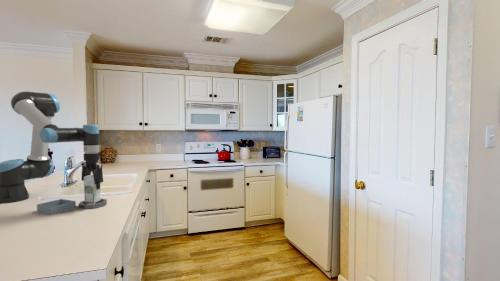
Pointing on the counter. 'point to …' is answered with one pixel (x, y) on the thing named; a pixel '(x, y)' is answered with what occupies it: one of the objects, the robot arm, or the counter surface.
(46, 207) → the tray
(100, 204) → the collar
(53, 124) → the robot arm
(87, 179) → the syrup box
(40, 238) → the counter surface
